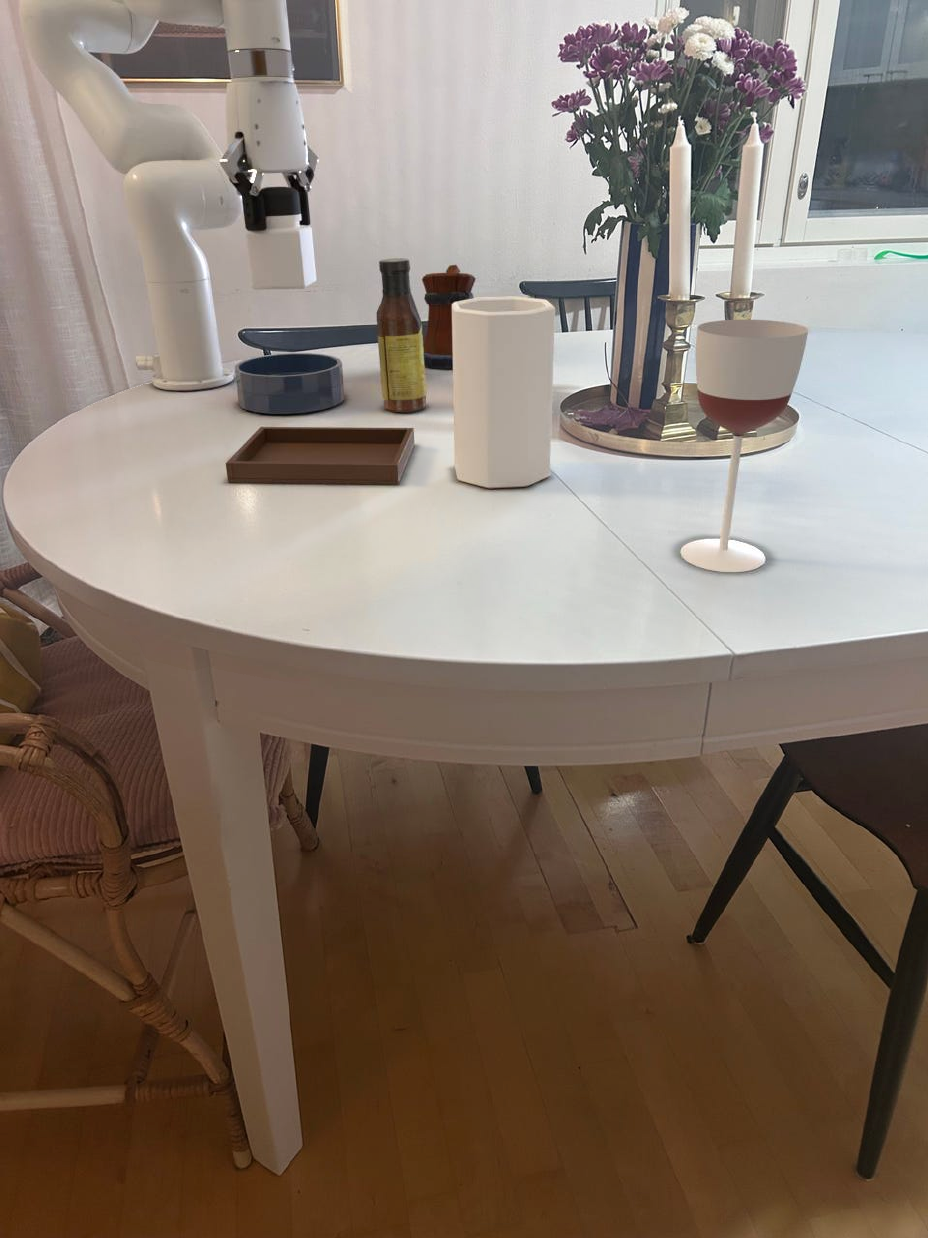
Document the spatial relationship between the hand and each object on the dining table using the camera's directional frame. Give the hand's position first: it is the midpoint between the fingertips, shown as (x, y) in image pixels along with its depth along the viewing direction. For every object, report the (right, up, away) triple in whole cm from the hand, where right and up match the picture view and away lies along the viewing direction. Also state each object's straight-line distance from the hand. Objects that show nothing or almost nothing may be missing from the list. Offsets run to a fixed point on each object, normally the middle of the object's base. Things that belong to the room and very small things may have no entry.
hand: (278, 226), depth 118 cm
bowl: (-1, -19, +15) cm, 24 cm away
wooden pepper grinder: (+22, -6, +40) cm, 46 cm away
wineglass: (+48, -46, -36) cm, 75 cm away
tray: (+8, -33, -11) cm, 35 cm away
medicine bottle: (0, -7, +4) cm, 7 cm away
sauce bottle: (+16, -21, +11) cm, 29 cm away
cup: (+29, -35, -15) cm, 47 cm away
